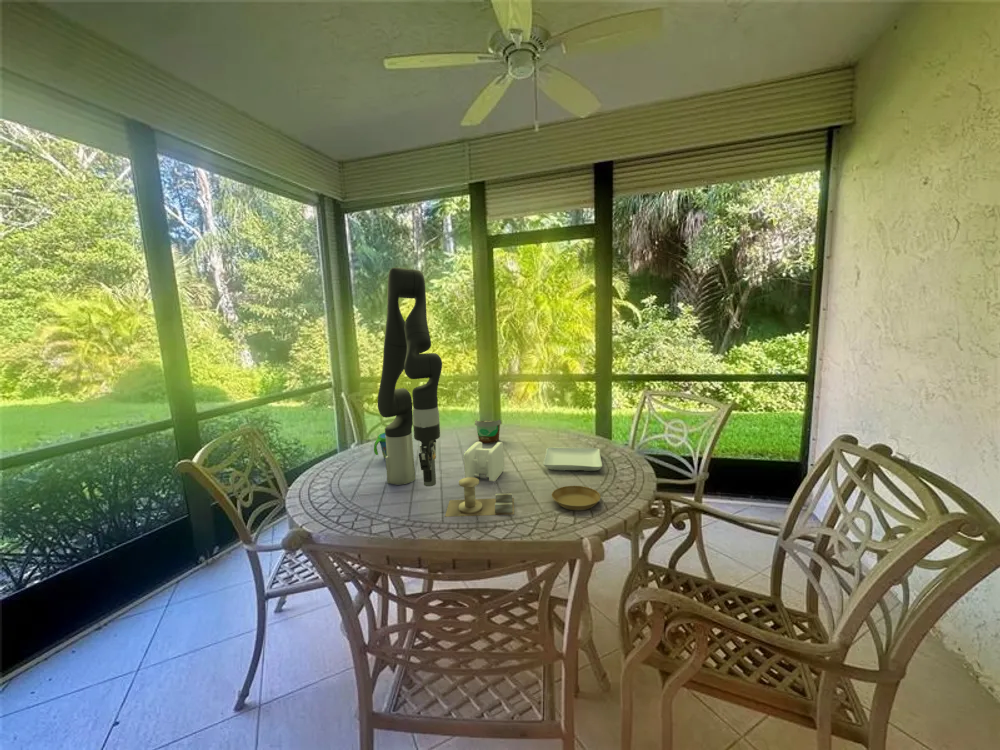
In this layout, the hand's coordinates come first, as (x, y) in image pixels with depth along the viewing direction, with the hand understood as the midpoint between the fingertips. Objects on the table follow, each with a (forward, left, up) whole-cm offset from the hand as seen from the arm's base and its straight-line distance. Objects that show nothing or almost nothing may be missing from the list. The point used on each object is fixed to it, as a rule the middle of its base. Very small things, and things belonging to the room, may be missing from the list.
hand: (429, 478), depth 129 cm
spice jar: (0, 0, -2) cm, 2 cm away
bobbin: (+12, 0, -10) cm, 15 cm away
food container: (+14, +69, -11) cm, 71 cm away
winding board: (+15, 0, -11) cm, 18 cm away
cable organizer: (+15, +27, -11) cm, 33 cm away
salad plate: (+48, +38, -12) cm, 62 cm away
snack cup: (-25, +52, -11) cm, 59 cm away
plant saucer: (+44, +4, -11) cm, 45 cm away
